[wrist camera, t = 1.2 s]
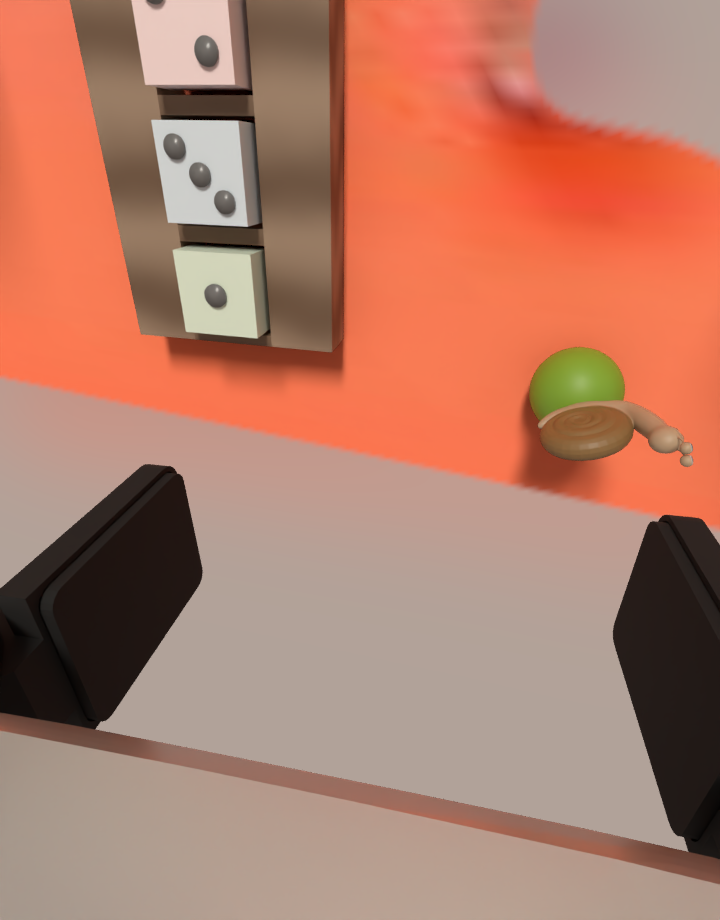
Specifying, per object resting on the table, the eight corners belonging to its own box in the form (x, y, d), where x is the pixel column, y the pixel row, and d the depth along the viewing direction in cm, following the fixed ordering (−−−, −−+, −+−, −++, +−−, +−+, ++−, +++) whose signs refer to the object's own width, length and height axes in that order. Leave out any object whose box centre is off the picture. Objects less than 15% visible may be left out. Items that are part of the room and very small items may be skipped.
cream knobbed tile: (193, 244, 32) (170, 250, 30) (266, 248, 31) (248, 255, 29) (204, 321, 35) (184, 332, 32) (271, 327, 34) (256, 339, 32)
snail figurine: (634, 400, 33) (697, 506, 23) (533, 419, 35) (551, 523, 25) (627, 321, 31) (694, 401, 21) (520, 347, 33) (533, 430, 23)
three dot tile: (175, 122, 29) (148, 119, 26) (257, 123, 28) (236, 120, 26) (189, 218, 31) (166, 223, 29) (264, 221, 30) (246, 227, 28)
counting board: (96, -42, 27) (56, -62, 25) (344, -55, 25) (327, -79, 22) (163, 322, 38) (141, 334, 35) (343, 338, 35) (332, 352, 33)
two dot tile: (153, -32, 25) (120, -51, 23) (245, -36, 24) (220, -56, 22) (171, 90, 28) (143, 84, 26) (254, 90, 27) (233, 84, 25)
